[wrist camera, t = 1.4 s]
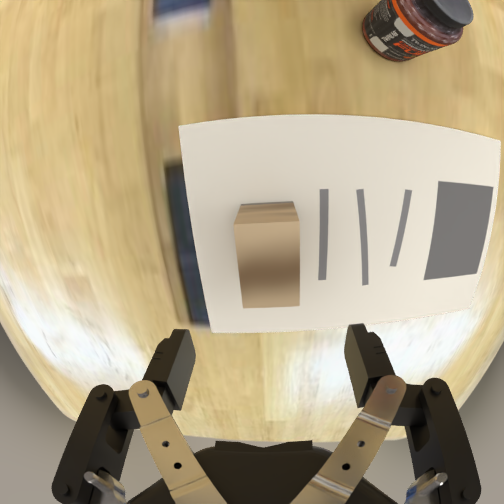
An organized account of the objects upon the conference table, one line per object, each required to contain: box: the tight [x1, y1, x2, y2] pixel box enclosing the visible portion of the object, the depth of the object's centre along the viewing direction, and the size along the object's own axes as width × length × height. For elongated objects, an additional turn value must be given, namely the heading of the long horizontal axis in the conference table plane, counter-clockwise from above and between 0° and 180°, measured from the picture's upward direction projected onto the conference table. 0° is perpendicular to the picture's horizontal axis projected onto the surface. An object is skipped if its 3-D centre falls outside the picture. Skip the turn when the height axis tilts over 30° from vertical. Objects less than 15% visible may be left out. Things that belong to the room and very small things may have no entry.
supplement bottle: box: [363, 0, 473, 61], centre depth 12 cm, size 6×6×11 cm
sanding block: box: [233, 201, 300, 308], centre depth 22 cm, size 7×4×6 cm, turn 4°
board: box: [179, 114, 501, 333], centre depth 25 cm, size 22×34×2 cm, turn 94°
